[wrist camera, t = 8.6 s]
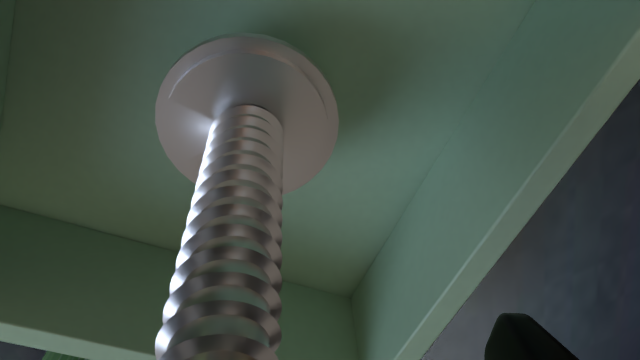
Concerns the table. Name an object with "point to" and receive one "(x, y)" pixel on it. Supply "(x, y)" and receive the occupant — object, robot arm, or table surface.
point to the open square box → (323, 189)
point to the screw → (238, 186)
